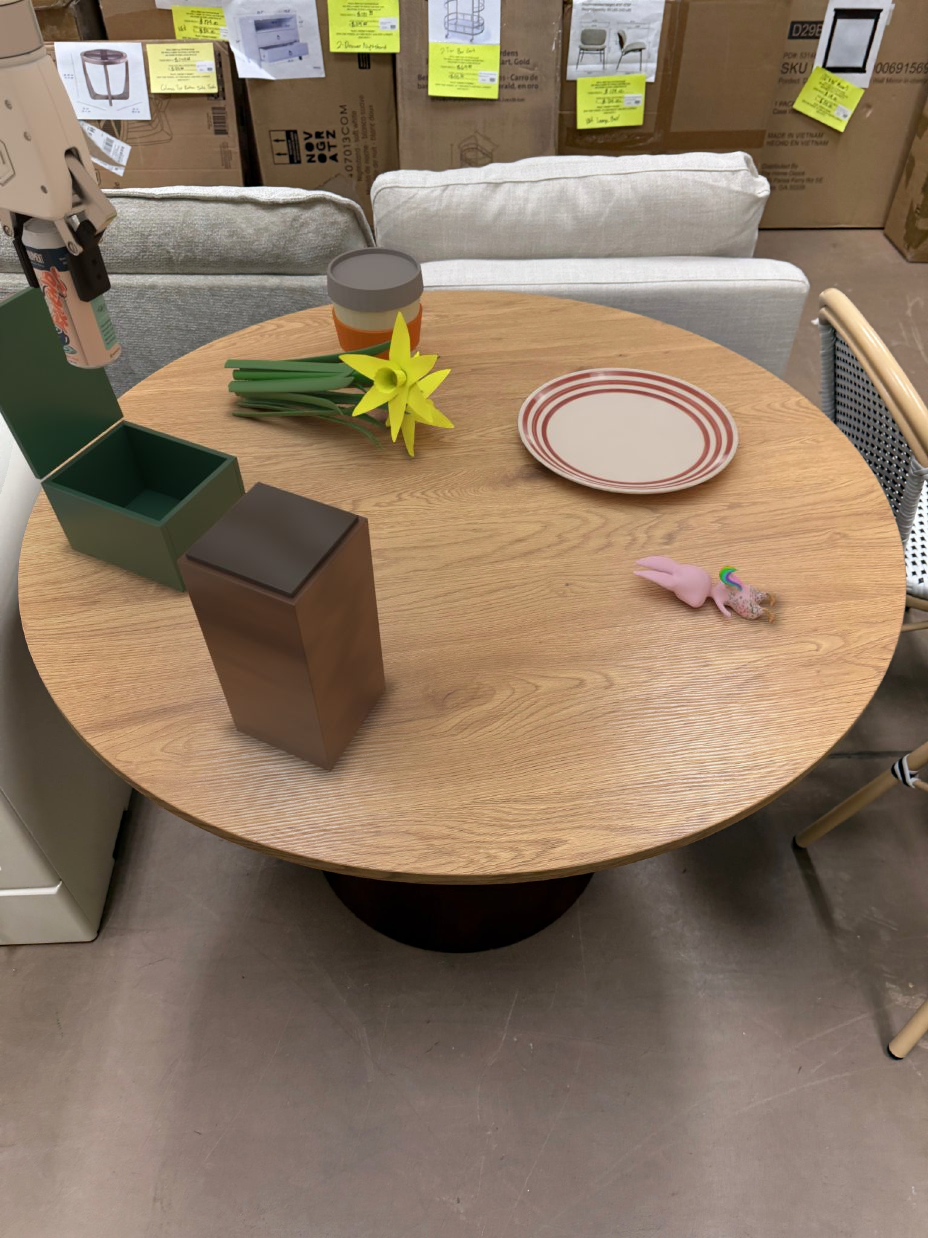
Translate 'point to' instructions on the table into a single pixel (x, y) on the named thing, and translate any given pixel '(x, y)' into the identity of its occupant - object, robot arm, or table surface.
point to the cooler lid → (47, 387)
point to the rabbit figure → (705, 586)
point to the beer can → (69, 299)
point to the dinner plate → (628, 430)
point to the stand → (290, 620)
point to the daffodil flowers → (347, 386)
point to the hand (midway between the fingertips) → (70, 286)
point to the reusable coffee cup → (375, 296)
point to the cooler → (143, 499)
